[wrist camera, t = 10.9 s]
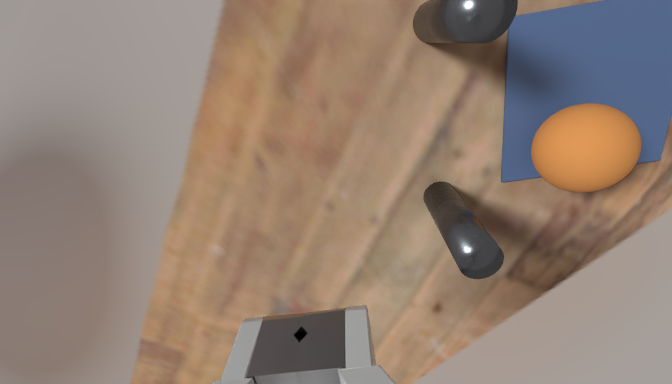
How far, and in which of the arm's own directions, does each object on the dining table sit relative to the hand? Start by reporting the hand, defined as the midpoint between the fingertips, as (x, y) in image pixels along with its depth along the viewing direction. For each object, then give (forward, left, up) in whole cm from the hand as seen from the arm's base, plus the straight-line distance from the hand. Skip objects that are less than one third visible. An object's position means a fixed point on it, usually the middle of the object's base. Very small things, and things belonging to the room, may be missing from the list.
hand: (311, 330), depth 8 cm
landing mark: (0, -19, -19) cm, 27 cm away
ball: (-3, -17, -16) cm, 24 cm away
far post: (-7, -8, -19) cm, 22 cm away
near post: (+6, -8, -19) cm, 22 cm away
